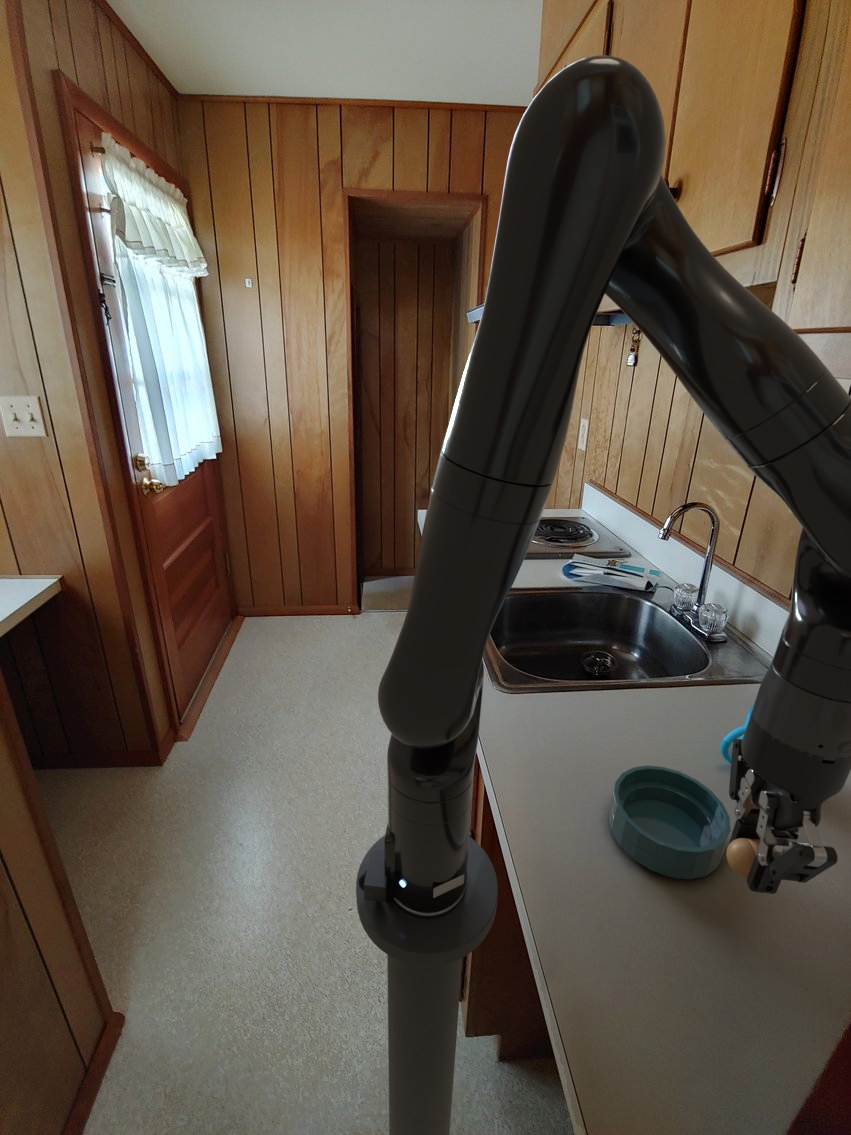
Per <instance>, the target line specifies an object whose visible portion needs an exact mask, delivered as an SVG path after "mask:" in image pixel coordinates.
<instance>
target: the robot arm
mask: <svg viewBox="0 0 851 1135" xmlns="http://www.w3.org/2000/svg"><path fill="white" fill-rule="evenodd" d="M666 145H667V139H666V127H665V120H664V116H663V111H662V109H661V105H660V102H659V100H658V97H657V95H656V93H655V91H654V89H653V87H652V85H651V84H650V82H649V81H648V79H647V77H646V76H645V75H644V74H643V72H641V70H640V69H638V68H637V67H636V66H635V65H634V64H632V63H631V62H629V61H627V60H625V59H623V58H621V57H618V56H614V55H603V54H602V55H601V54H600V55H592V56H588V57H585V58H582V59H578V60H576V61H575V62H573V63H570V64H568V65H567V66H565V67H564V68H563V69H561V70H560V71H559V72H557V73H556V74H555V75H554V76H552V77H551V79H549V80H547V82H546V83H545V84H544V85H543V86H542V88H541V89H540V90H539V91H538V93H537V94H536V95H535V96H534V97H533V98H532V101H531V102H530V103H529V105H528V107H527V108H526V109H525V112H524V113H523V115H522V117H521V119H520V121H519V124H518V126H517V127H516V130H515V133H514V135H513V139H512V142H511V146H510V149H509V154H508V158H507V162H506V169H505V175H504V182H503V188H502V189H503V190H502V197H501V202H500V208H499V209H500V210H499V215H498V216H499V217H498V221H497V222H498V223H497V229H496V233H495V234H496V235H495V241H494V247H493V252H492V253H493V254H492V260H491V265H490V271H489V276H488V284H487V287H486V291H485V299H484V303H483V307H482V312H481V316H480V319H479V323H478V326H477V330H476V333H475V336H474V338H473V339H474V340H473V343H472V346H471V348H470V352H469V354H468V358H467V361H466V364H465V367H464V370H463V373H462V376H461V379H460V383H459V386H458V389H457V393H456V396H455V400H454V403H453V405H452V406H453V407H452V410H451V414H450V417H449V420H448V424H447V428H446V431H445V434H444V436H443V441H442V444H441V450H440V452H439V456H438V460H437V464H436V467H435V472H434V476H433V480H432V483H431V488H430V493H429V497H428V503H427V507H426V512H425V517H424V522H423V526H422V532H421V537H420V541H419V548H418V552H417V557H416V558H417V559H416V564H415V571H414V577H413V584H412V589H411V594H410V601H409V604H408V608H407V612H406V614H405V618H404V621H403V624H402V627H401V629H400V633H399V635H398V637H397V638H398V639H397V640H396V643H395V646H394V649H393V651H392V654H391V656H390V659H389V661H388V663H387V666H386V668H385V670H384V672H383V674H382V676H381V678H380V681H379V684H378V691H377V703H378V709H379V713H380V716H381V718H382V721H383V723H384V725H385V726H386V728H387V730H388V731H389V732H390V733H391V734H390V738H389V742H388V747H387V754H386V771H387V824H386V829H385V833H384V835H385V838H384V850H376V849H372V850H371V855H370V859H369V864H368V868H367V871H365V873H363V874H362V875H361V876H360V877H359V880H358V883H359V886H360V888H361V889H362V890H363V891H364V900H369V901H378V902H386V901H391V902H394V903H395V904H396V905H397V906H398V907H399V908H400V909H401V910H402V911H404V912H405V913H407V914H409V915H411V916H414V917H417V918H422V919H433V918H438V917H442V916H444V915H447V914H448V913H450V912H451V911H453V910H454V909H455V908H456V907H457V906H458V905H459V904H460V902H461V901H462V899H463V897H464V895H465V892H466V886H467V861H468V847H469V837H470V831H471V830H470V828H471V818H472V802H473V789H474V788H473V787H474V775H475V764H476V763H475V762H476V757H477V749H478V743H479V736H480V726H481V712H482V703H483V690H484V675H485V670H484V669H485V668H484V667H485V666H484V660H483V658H484V655H485V651H486V648H487V645H488V641H489V638H490V635H491V633H492V630H493V627H494V624H495V622H496V620H497V618H498V616H499V614H500V611H501V610H502V607H503V606H504V604H505V601H506V599H507V597H508V595H509V593H510V591H511V589H512V587H513V585H514V583H515V581H516V578H517V576H518V575H519V572H520V569H521V567H522V565H523V562H524V561H525V559H526V555H527V554H528V551H529V548H530V546H531V543H532V541H533V539H534V536H535V534H536V532H537V529H538V527H539V524H540V521H541V519H542V517H543V514H544V510H545V508H546V504H547V502H548V499H549V496H550V494H551V491H552V488H553V485H554V481H555V479H556V477H557V474H558V470H559V466H560V463H561V459H562V455H563V452H564V449H565V444H566V440H567V436H568V432H569V429H570V428H569V427H570V423H571V419H572V415H573V414H572V413H573V409H574V404H575V398H576V393H577V387H578V382H579V375H580V370H581V366H582V361H583V357H584V354H585V348H586V346H587V342H588V339H589V335H590V332H591V330H592V327H593V324H594V321H595V318H596V317H597V314H598V311H599V309H600V306H601V304H602V302H603V298H604V296H605V295H606V297H608V298H609V299H610V301H612V302H613V303H614V304H615V305H616V306H617V307H618V308H619V309H620V310H621V311H622V312H623V313H624V314H625V315H626V317H628V319H630V321H631V322H633V324H634V325H635V327H636V328H638V329H639V331H640V332H641V333H642V334H643V335H644V336H645V338H646V339H647V340H648V341H649V342H650V344H651V345H652V346H653V347H654V348H655V350H656V351H657V353H658V354H659V356H661V358H662V360H664V362H665V363H666V364H667V366H668V367H669V368H670V370H671V371H672V373H673V374H674V375H675V376H676V378H677V379H678V381H680V383H681V384H682V386H683V387H684V388H685V390H686V392H687V393H688V394H689V396H690V397H691V398H692V400H693V401H694V402H695V404H696V405H697V406H698V408H699V409H700V410H701V411H702V413H703V414H704V416H705V417H706V418H707V419H708V421H709V422H710V423H711V424H712V426H713V427H714V428H715V429H716V431H717V432H718V433H719V434H720V436H722V438H723V439H724V440H725V442H726V443H727V444H728V445H729V446H730V447H731V449H732V450H733V452H735V454H736V455H737V456H738V457H739V458H740V460H741V461H742V462H743V463H744V464H745V465H746V467H747V468H748V469H749V470H750V472H752V474H754V476H755V477H756V478H758V480H760V481H761V483H763V484H764V485H765V486H766V487H768V489H770V490H771V491H772V492H773V493H775V495H777V497H779V498H780V499H781V501H782V502H783V503H784V504H785V505H786V507H787V508H788V509H789V511H790V512H791V513H792V515H793V516H794V517H795V518H796V520H797V521H798V522H799V524H800V525H801V530H800V533H799V538H798V541H797V542H798V543H797V547H796V548H797V549H796V554H795V555H796V556H795V563H794V571H793V576H792V577H793V578H792V585H791V586H792V588H791V600H790V608H789V613H788V616H787V618H786V620H785V622H784V625H783V627H782V630H781V634H780V636H779V640H778V643H777V646H776V649H775V651H774V655H773V658H772V660H771V663H770V665H769V666H768V669H767V670H766V672H765V674H764V676H763V678H762V680H761V683H760V684H759V688H758V691H757V694H756V698H755V701H754V703H753V705H754V706H753V705H752V706H753V709H752V712H751V715H750V719H749V722H748V725H747V728H746V731H745V734H744V737H743V739H740V738H737V739H734V741H733V743H732V749H731V750H732V751H731V757H732V761H731V763H730V775H729V785H728V794H729V795H728V796H729V799H730V800H732V801H735V802H736V805H735V807H734V816H735V818H736V820H735V823H734V826H733V829H732V832H731V836H730V840H729V842H728V845H729V844H730V843H731V842H732V841H733V840H735V839H738V838H749V839H758V840H760V845H759V850H758V856H756V857H755V859H754V862H753V865H752V867H751V870H750V873H749V875H748V878H746V880H745V881H746V884H747V886H748V889H749V890H750V891H751V892H754V893H761V894H770V895H774V894H776V893H777V892H778V889H779V887H780V884H781V882H782V881H791V882H798V883H801V884H806V883H807V882H809V881H811V880H812V879H814V878H816V877H817V876H819V875H820V874H822V873H823V872H824V871H827V870H829V868H831V867H832V866H834V865H836V864H837V863H838V853H837V851H836V849H835V848H834V847H833V846H828V845H823V842H822V840H821V837H820V834H819V832H818V829H817V827H818V826H819V825H820V824H821V819H822V805H823V803H824V802H826V801H827V800H829V799H831V798H832V797H833V796H836V795H837V794H838V793H840V792H841V791H842V790H843V788H844V786H845V784H846V781H847V780H848V777H849V775H850V773H851V396H850V394H849V393H848V392H847V391H846V390H845V388H844V387H843V386H842V385H841V384H840V382H839V381H838V379H837V378H836V377H835V376H834V375H833V373H832V372H831V371H830V370H829V368H828V367H827V366H826V365H825V364H824V362H823V361H822V359H820V357H819V356H818V355H817V354H816V353H815V351H813V349H812V348H811V347H810V346H809V345H808V344H807V343H806V341H804V339H803V338H801V337H800V335H799V334H798V333H797V332H796V331H795V330H794V329H792V327H791V326H789V324H788V323H786V322H785V321H784V320H783V319H782V318H781V317H780V316H779V315H778V314H776V313H775V312H774V311H773V310H772V309H770V307H769V306H767V305H766V304H765V303H764V302H762V301H761V300H760V299H759V298H758V297H756V295H754V293H753V292H751V291H750V290H748V289H747V287H745V286H744V285H743V284H742V283H741V282H739V281H738V280H737V279H736V277H734V276H733V275H732V274H731V273H730V272H729V271H728V270H727V269H726V268H725V267H724V265H722V264H721V263H720V261H719V260H718V259H717V258H716V257H715V256H714V255H713V254H712V252H710V250H709V249H708V248H707V247H706V245H705V244H704V243H703V241H702V240H701V239H700V237H699V236H698V235H697V233H695V231H694V229H693V228H692V226H691V225H690V223H689V222H688V220H687V219H686V217H685V216H684V214H683V212H682V211H681V208H680V207H679V205H678V203H677V202H676V199H675V198H674V196H673V194H672V192H671V190H670V188H669V187H668V185H667V183H666V181H665V179H664V176H663V175H662V173H663V169H664V163H665V157H666V156H665V154H666V147H667V146H666ZM743 778H745V780H744V781H743V783H742V779H743ZM741 784H742V785H741ZM777 846H780V847H782V848H781V849H782V850H781V851H778V852H776V851H773V848H775V847H777Z"/></svg>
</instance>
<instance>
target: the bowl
mask: <svg viewBox="0 0 851 1135" xmlns="http://www.w3.org/2000/svg"><path fill="white" fill-rule="evenodd" d="M607 819H608V825H609V828H610V832H611V834H612V836H613V837H614V839H615V841H616V842H617V844H618V845H619V847H620V848H621V849H622V850H623V851H624V852H625V853H627V855H629V857H631V859H633V860H634V861H635V862H637V863H638V864H640V865H642V867H644V868H647V870H650V871H651V872H654V873H657V874H660V875H662V876H666V877H669V878H672V879H683V880H694V879H697V878H699V879H700V878H703V877H707V876H708V875H709V874H711V873H712V872H714V871H715V870H716V869H718V868H719V865H720V863H721V861H722V858H723V856H724V852H725V850H726V848H727V843H728V840H729V837H730V834H731V830H732V829H731V818H730V815H729V813H728V810H727V809H726V807H725V805H724V803H723V802H722V801H721V800H720V799H719V797H718V796H717V795H716V794H715V792H713V791H712V790H711V789H710V788H709V787H707V786H705V785H704V784H703V783H702V782H700V781H699V780H698V779H696V778H694V777H692V776H689V775H688V774H686V773H684V772H681V771H679V770H676V769H672V768H668V767H665V766H657V765H640V766H634V767H631V768H629V769H627V770H625V771H623V772H622V773H621V774H620V775H619V777H618V778H617V779H616V780H615V782H614V786H613V791H612V796H611V800H610V805H609V811H608V817H607Z"/></svg>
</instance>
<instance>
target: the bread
mask: <svg viewBox="0 0 851 1135" xmlns="http://www.w3.org/2000/svg"><path fill="white" fill-rule="evenodd" d="M760 840H761V839H760ZM760 840H758V839H749V838H738V839H735V840H733V841H732V842H731V843H730V844H729V843H728V845H727V847H726V853H725V855H726V859H727V863H728V865H729V867H730V868H731V869H732V870H733V872H734V873H736V874H737V875H738V876H740V877H741V878H745V879H747V878H748V875H749V873H750V870H751V867H752V865H753V862H754V859H755V857H756V856H758V850H759V845H760ZM773 851H776V852H779V851H778V849H777V848H776V847H774V848H773Z"/></svg>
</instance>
